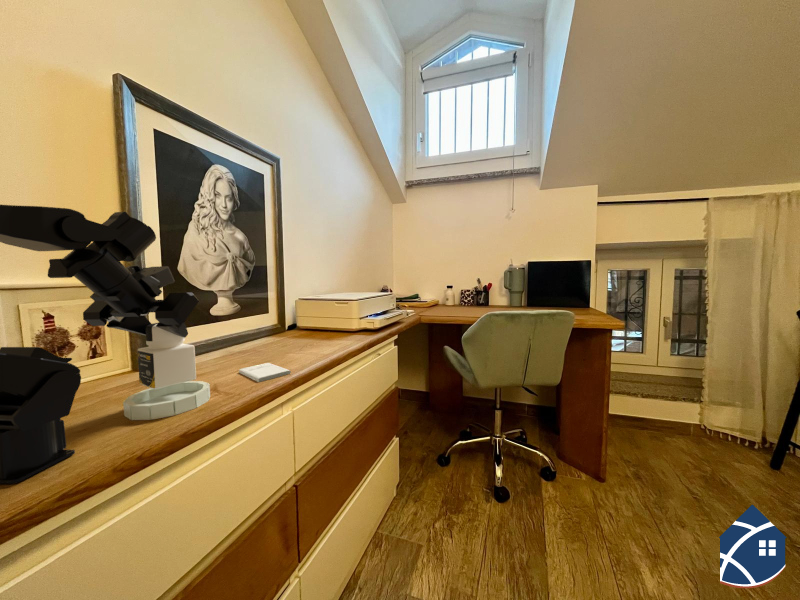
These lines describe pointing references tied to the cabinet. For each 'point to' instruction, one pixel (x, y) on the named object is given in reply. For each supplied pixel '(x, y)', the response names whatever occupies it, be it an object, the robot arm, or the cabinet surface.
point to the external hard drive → (264, 372)
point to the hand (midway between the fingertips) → (171, 335)
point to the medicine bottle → (165, 359)
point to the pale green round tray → (166, 400)
